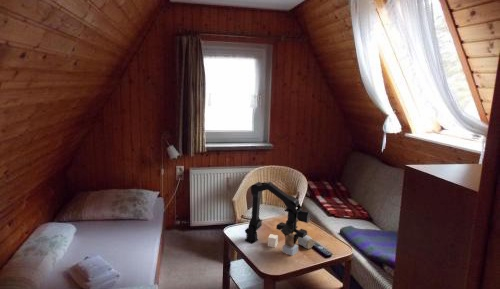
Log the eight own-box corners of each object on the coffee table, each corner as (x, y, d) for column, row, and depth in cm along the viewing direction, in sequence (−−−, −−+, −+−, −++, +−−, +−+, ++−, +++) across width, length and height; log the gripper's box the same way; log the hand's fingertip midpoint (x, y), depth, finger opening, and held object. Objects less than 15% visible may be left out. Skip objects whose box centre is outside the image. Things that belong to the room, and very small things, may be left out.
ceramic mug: (306, 251, 208) (307, 239, 207) (297, 245, 214) (297, 234, 213) (317, 246, 215) (318, 235, 213) (308, 241, 221) (309, 230, 220)
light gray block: (282, 252, 206) (282, 246, 205) (288, 247, 212) (288, 241, 211) (292, 255, 202) (292, 249, 201) (297, 251, 208) (298, 245, 207)
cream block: (267, 245, 213) (268, 237, 212) (270, 242, 218) (270, 234, 216) (275, 247, 211) (275, 238, 210) (277, 244, 216) (278, 235, 215)
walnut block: (284, 244, 205) (285, 235, 204) (289, 241, 209) (289, 232, 208) (292, 247, 202) (292, 237, 201) (296, 243, 206) (296, 234, 205)
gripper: (272, 218, 202) (270, 242, 205) (299, 227, 191) (297, 252, 194) (281, 213, 210) (280, 236, 213) (308, 221, 199) (306, 245, 203)
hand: (290, 242), depth 206 cm, fingers closed on walnut block, 5 cm apart
